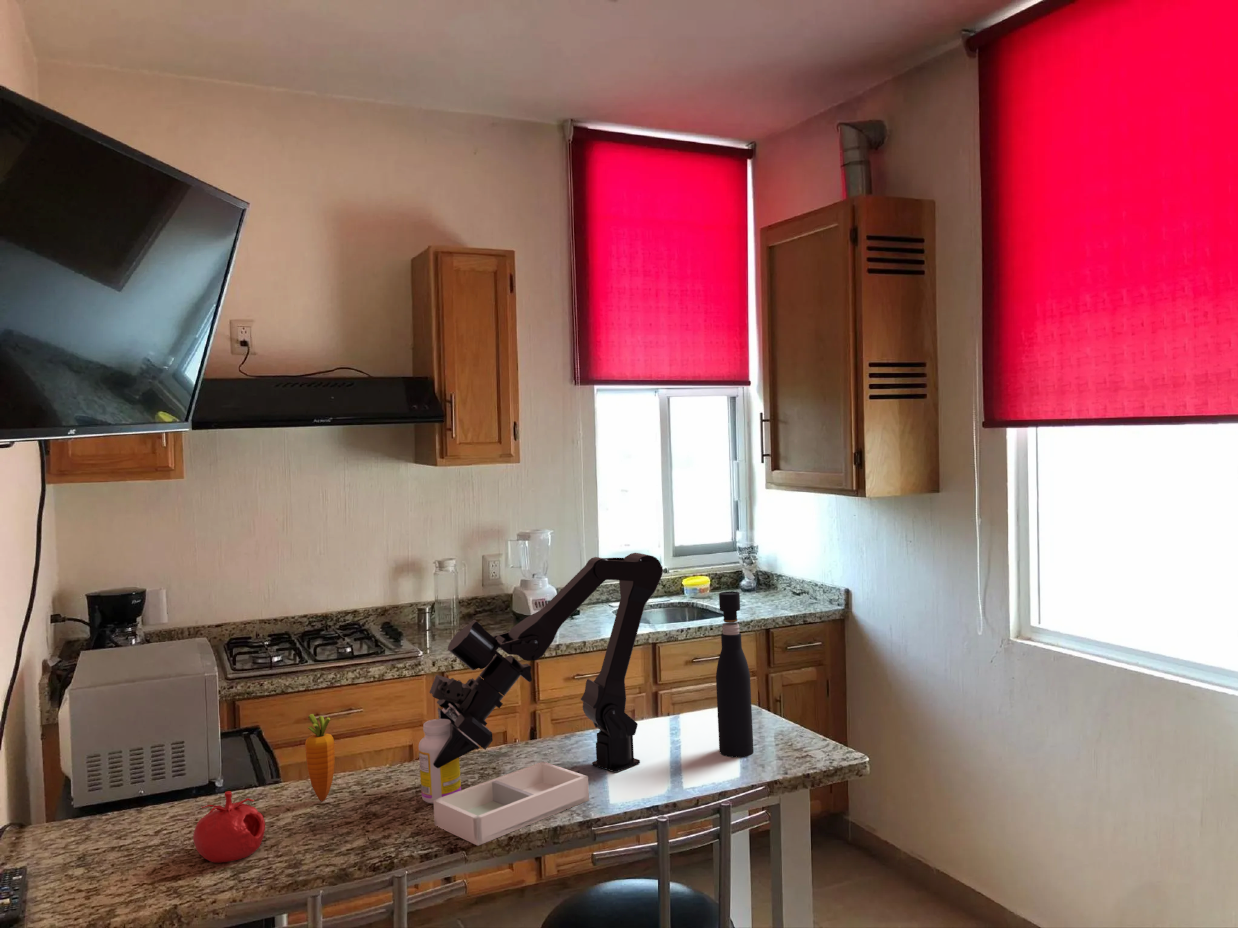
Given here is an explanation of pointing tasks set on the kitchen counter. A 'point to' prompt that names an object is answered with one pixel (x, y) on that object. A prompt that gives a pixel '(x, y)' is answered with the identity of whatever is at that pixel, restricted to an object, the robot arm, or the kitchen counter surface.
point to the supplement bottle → (433, 778)
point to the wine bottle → (733, 685)
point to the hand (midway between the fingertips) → (431, 760)
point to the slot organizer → (510, 802)
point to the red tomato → (229, 831)
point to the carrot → (320, 757)
